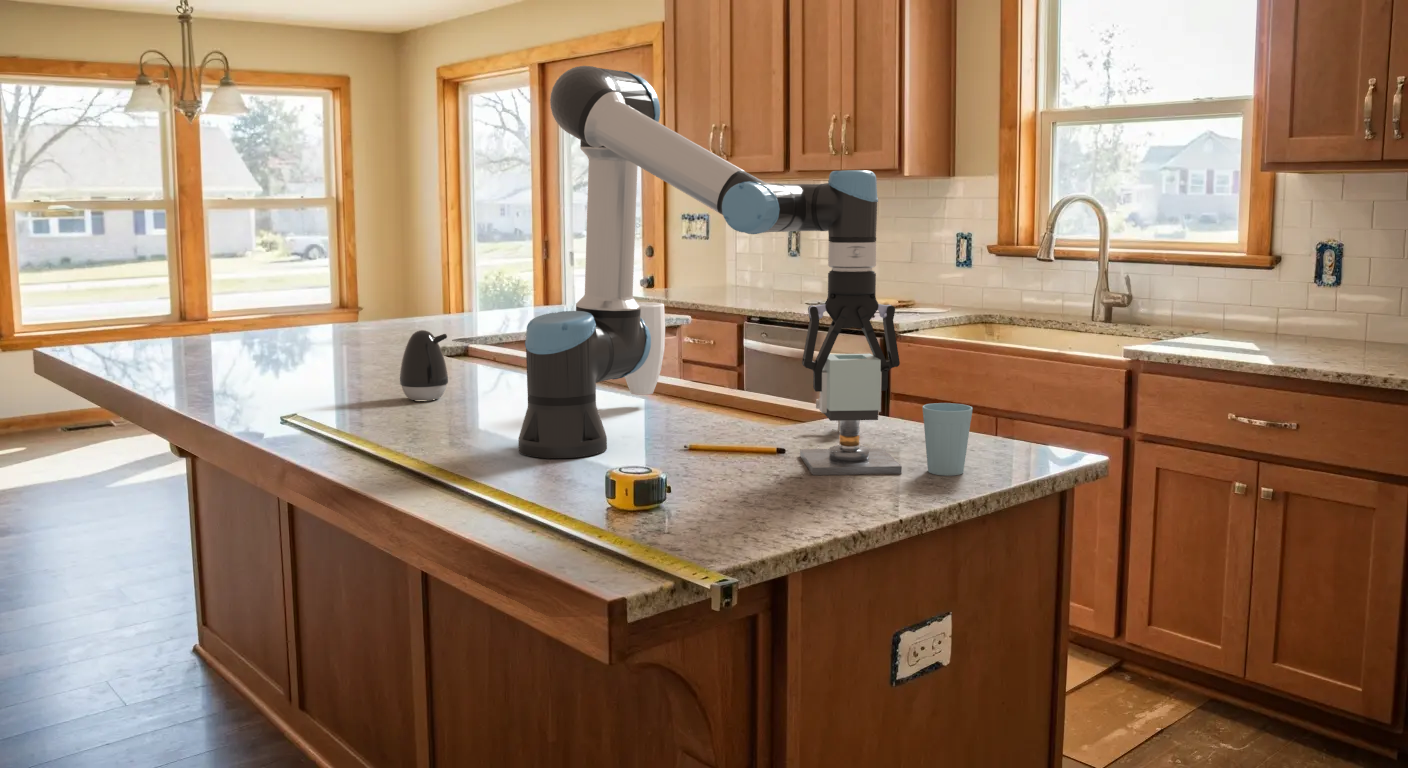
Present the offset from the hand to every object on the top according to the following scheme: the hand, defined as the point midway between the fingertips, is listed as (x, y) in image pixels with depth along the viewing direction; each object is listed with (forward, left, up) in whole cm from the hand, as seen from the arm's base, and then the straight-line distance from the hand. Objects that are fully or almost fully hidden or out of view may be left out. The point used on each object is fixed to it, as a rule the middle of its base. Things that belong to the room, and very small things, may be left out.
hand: (849, 410), depth 190 cm
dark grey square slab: (0, 0, 0) cm, 0 cm away
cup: (+14, -6, -9) cm, 18 cm away
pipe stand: (0, 0, -9) cm, 9 cm away
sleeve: (0, 0, +1) cm, 1 cm away
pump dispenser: (-80, +71, -9) cm, 107 cm away
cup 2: (-33, +58, -9) cm, 67 cm away
